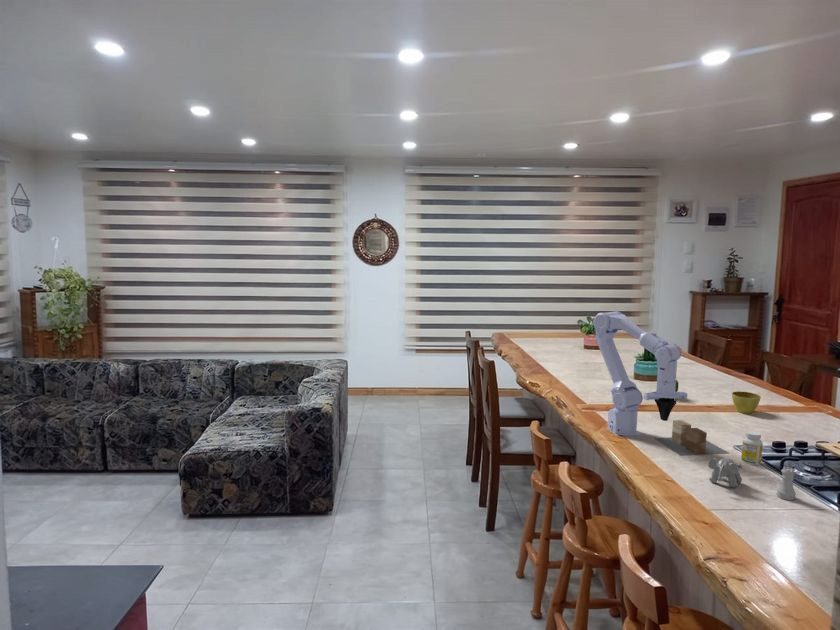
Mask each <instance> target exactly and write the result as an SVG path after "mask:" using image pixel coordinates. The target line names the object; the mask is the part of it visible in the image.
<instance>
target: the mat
mask: <svg viewBox="0 0 840 630" xmlns="http://www.w3.org/2000/svg"><path fill="white" fill-rule="evenodd" d="M653 440H656V441H657V442H658V443H660V444H661V445H663V446H665V447H666V448H667V449H670V450H671V451H673V452H674V453H676V454H678V455H679V457H680V456H681V457H683V456H686V457H687V456H701V455H702V456H703V455H722V454H723V455H724V454H726V455H727V454H729V452H728V451H727V450H725V449H723V448H722V447H719V446H717V445H715V444H714V443H712V442H710V441H708V440H707V439H706V450H705V454H694V453H692V452H690V451H689V450H687V449H686V445H680V444H678V443H676V442H674V441H673V440H672V436H671V437H654V438H653Z"/></svg>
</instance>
